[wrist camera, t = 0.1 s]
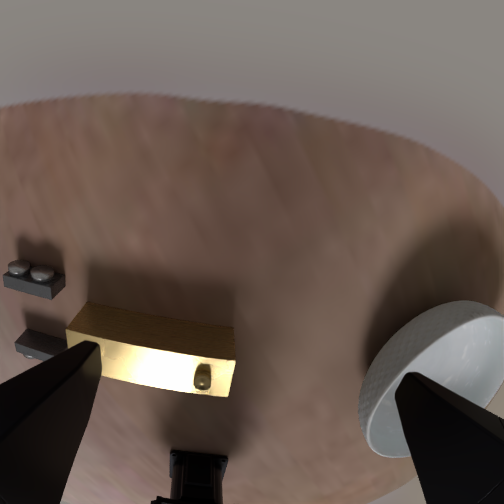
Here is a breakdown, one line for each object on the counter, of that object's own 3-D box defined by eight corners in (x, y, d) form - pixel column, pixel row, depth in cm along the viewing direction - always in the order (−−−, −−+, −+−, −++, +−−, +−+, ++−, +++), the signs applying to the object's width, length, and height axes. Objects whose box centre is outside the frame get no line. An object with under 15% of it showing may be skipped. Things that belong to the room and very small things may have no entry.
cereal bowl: (496, 293, 26) (537, 322, 19) (432, 409, 31) (457, 445, 24) (385, 264, 23) (433, 304, 17) (316, 414, 28) (334, 467, 21)
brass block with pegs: (226, 360, 25) (227, 404, 20) (90, 336, 23) (67, 373, 18) (233, 326, 24) (236, 368, 19) (88, 300, 22) (61, 335, 17)
